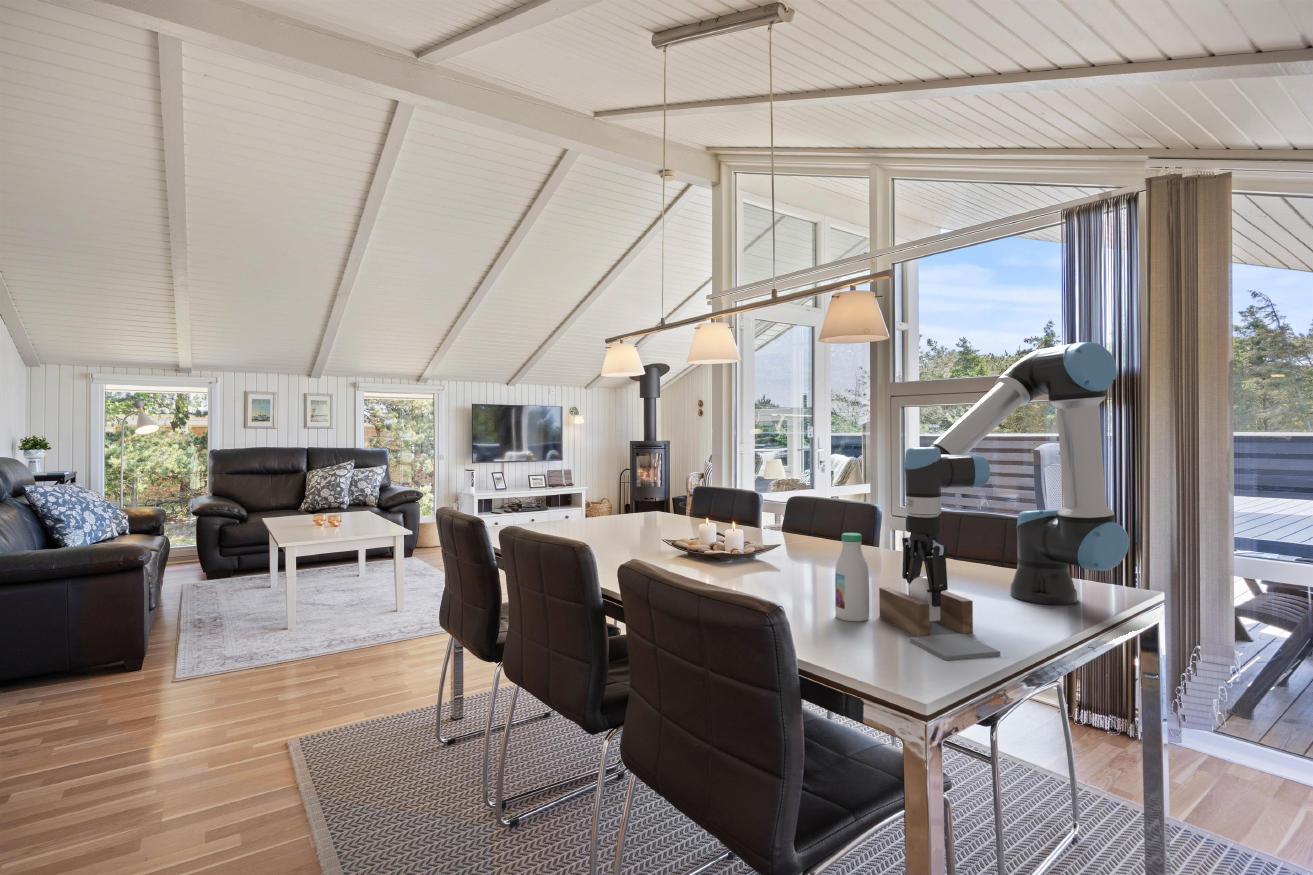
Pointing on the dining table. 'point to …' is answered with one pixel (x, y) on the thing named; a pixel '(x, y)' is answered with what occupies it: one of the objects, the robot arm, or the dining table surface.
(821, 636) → the dining table surface
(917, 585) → the lightbulb
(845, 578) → the milk bottle
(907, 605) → the walnut slot
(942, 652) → the grey pad
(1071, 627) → the dining table surface
